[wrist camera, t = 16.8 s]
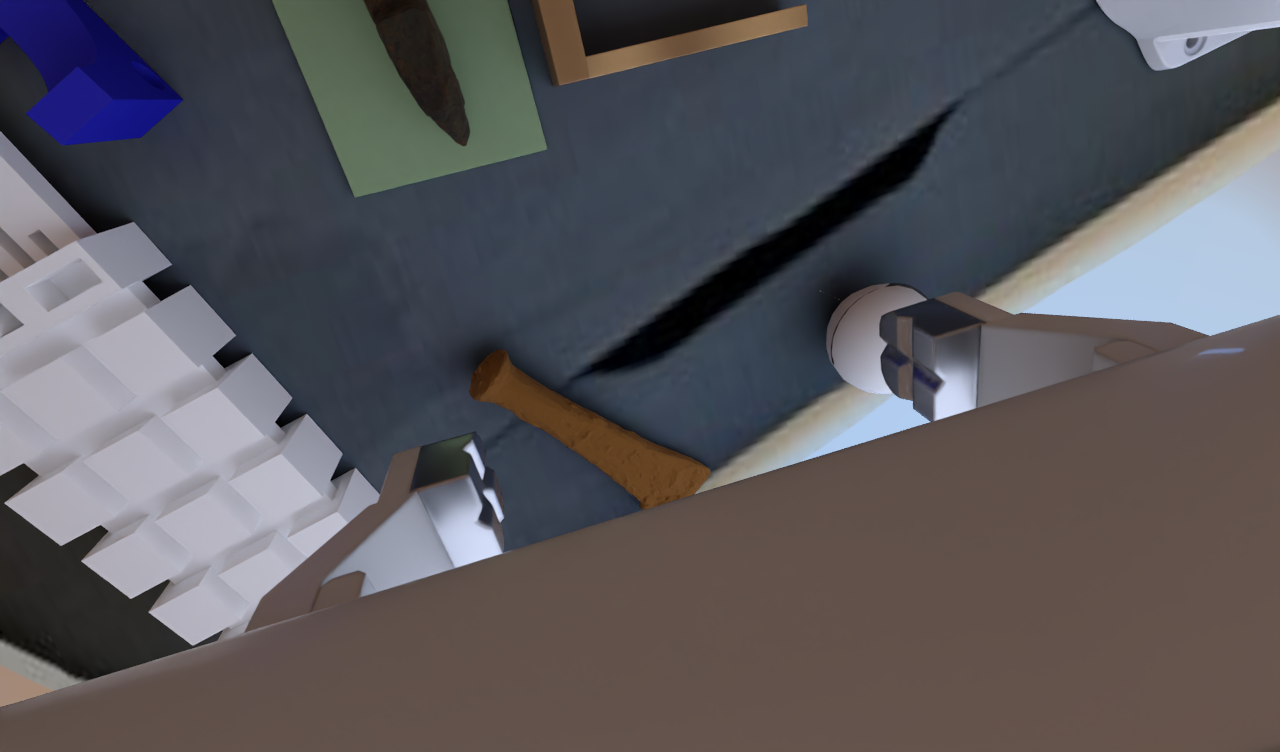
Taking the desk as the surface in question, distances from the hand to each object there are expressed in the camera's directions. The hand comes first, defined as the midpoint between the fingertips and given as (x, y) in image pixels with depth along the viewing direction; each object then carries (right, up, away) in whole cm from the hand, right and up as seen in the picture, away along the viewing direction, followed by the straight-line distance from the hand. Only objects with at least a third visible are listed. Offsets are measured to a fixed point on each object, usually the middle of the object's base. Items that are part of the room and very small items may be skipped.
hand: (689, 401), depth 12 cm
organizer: (-30, -1, +25) cm, 39 cm away
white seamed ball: (+14, +5, +31) cm, 34 cm away
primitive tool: (-4, -3, +31) cm, 32 cm away
